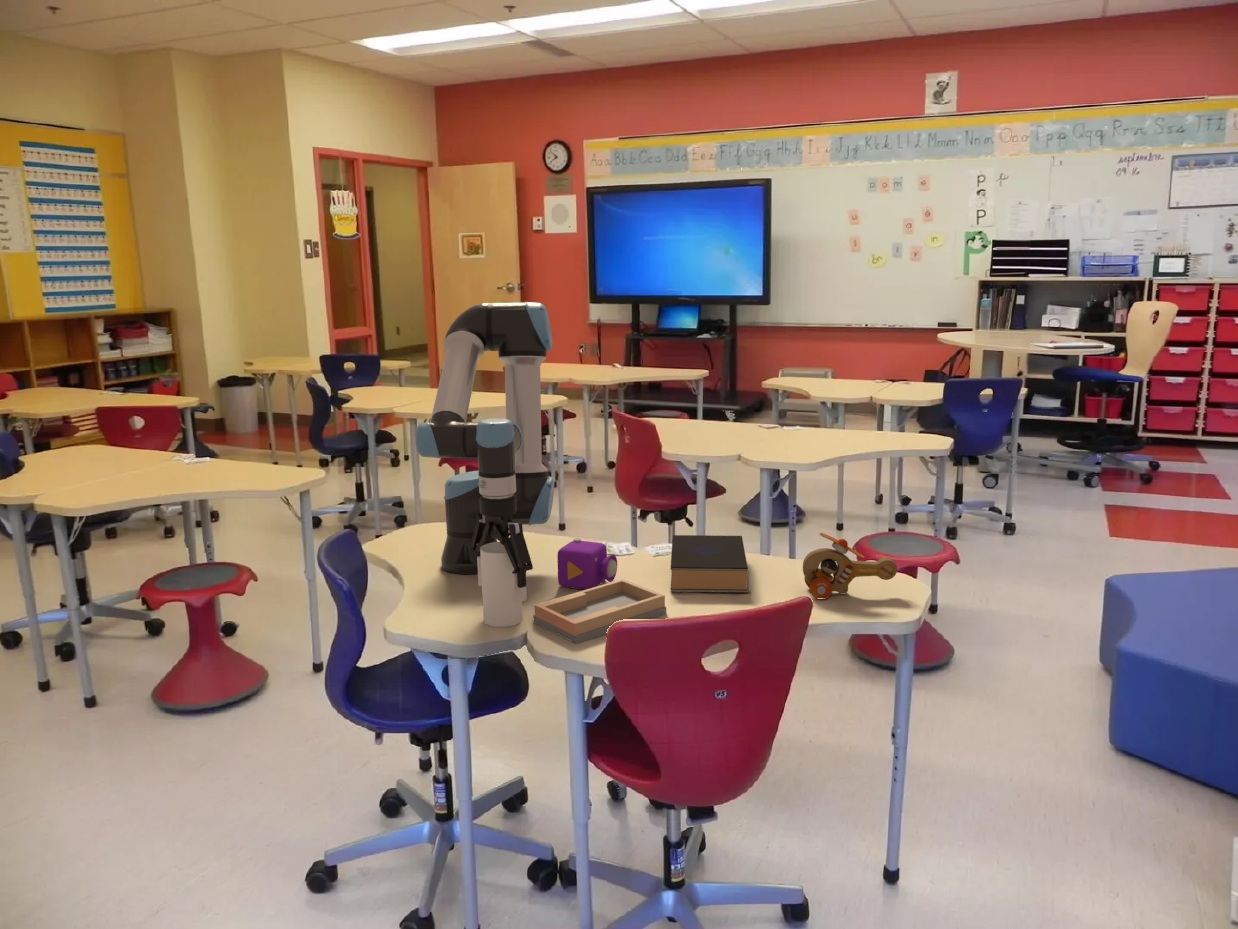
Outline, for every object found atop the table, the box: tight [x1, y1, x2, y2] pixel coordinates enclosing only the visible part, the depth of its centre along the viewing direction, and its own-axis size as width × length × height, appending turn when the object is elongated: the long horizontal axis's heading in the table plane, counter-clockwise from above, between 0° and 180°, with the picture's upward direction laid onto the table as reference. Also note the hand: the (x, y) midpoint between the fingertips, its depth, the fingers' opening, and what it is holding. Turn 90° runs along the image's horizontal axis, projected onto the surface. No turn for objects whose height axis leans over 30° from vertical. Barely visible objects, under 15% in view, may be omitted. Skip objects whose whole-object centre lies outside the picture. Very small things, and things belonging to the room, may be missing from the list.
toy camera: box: [556, 538, 618, 591], centre depth 217 cm, size 11×14×10 cm
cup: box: [480, 541, 524, 628], centre depth 196 cm, size 8×8×16 cm
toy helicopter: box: [802, 532, 898, 600], centre depth 209 cm, size 8×21×14 cm, turn 89°
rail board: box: [532, 578, 667, 644], centre depth 198 cm, size 15×24×4 cm, turn 130°
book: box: [670, 534, 749, 594], centre depth 223 cm, size 17×25×7 cm
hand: (501, 593), depth 197 cm, fingers open, 13 cm apart
